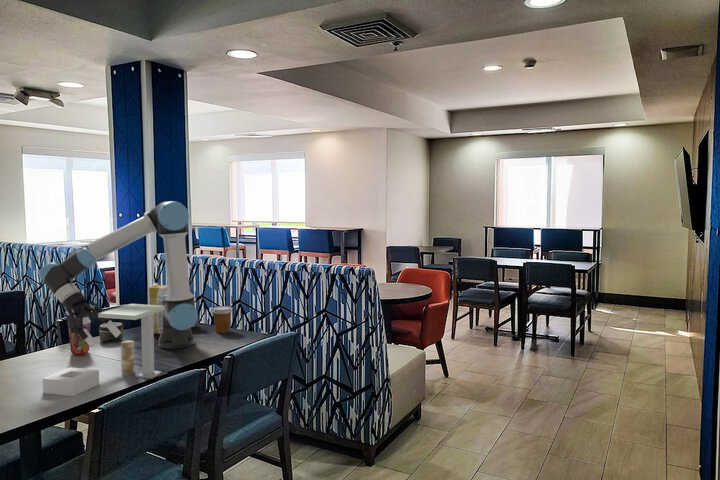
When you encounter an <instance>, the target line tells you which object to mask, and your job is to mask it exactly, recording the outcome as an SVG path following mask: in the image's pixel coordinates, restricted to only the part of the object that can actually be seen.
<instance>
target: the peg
mask: <svg viewBox="0 0 720 480" xmlns="http://www.w3.org/2000/svg"><path fill="white" fill-rule="evenodd" d="M120 354H121V355H120V359H121V375H122V376H130V375H134V374H135V341H134V340H124V341H123V340H122V341H120Z"/></svg>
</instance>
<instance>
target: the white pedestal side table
mask: <svg viewBox="0 0 720 480" xmlns="http://www.w3.org/2000/svg"><path fill="white" fill-rule="evenodd" d="M163 310H165V306H160V305H148V304H142V303H129V304H125V305H122V306H121V305H120V306H119V307H115V308H112V309H111V308H110V309H108V310H105V311H104V312H101V313H98V317H100V318H113V320H114V319H115V320H117V319H119V320H131V321H132V320H133V321H136V320H140V322H141V323H140V325H141V373H139V374H137V375H136V377H137V378H142V379H151V380H152V379H154V378H155V377H157V376H159V375H161V374H162V371H161V370H160V371H159V370H155V338H154V337H155V336H154V324H153V314H154V313H157V312H160V311H163Z"/></svg>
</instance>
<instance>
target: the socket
mask: <svg viewBox="0 0 720 480" xmlns="http://www.w3.org/2000/svg"><path fill="white" fill-rule="evenodd" d="M98 385H100V369H89V368H80V367H79V368H78V367H67V368H65V369H62V370H60V371H57V372H55V373H53V374H50V375H48V376H46V377H43V378H42V394H48V395H58V396H65V397H66V396H67V397H75V396H78V395H79V394H82V393H84V392H86V391H88V390H89V389H92V388H94V387H96V386H98Z"/></svg>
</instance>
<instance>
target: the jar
mask: <svg viewBox="0 0 720 480" xmlns="http://www.w3.org/2000/svg"><path fill="white" fill-rule="evenodd" d="M112 322H113V321H112ZM113 323H114V324H115V325H116V327H117V328H118V329H119V331H120V332H121V333H120V335H119V336H118V337H115V336H114V335H113V334H112V333H111V331H110V330H109V329H108V328H107V327H106V323H102V324H100V325H99V329H98V331H99V340H100V342H101V344H115V343H119V342H120V343H121V342H122V341H123V338H124V324H123V323H122V322H113Z"/></svg>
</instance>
